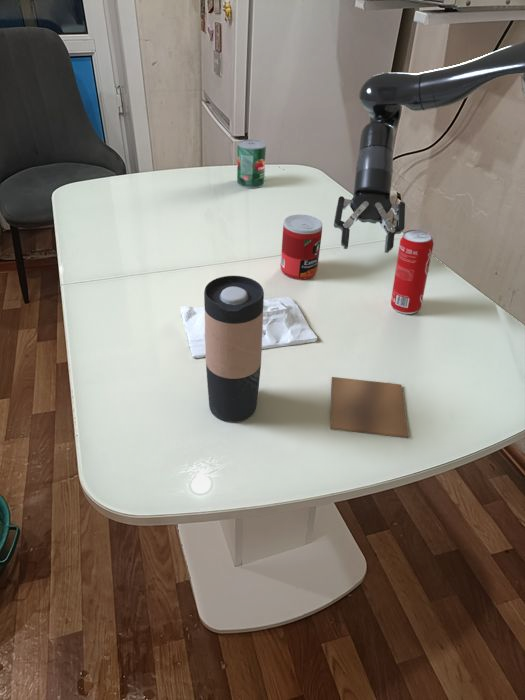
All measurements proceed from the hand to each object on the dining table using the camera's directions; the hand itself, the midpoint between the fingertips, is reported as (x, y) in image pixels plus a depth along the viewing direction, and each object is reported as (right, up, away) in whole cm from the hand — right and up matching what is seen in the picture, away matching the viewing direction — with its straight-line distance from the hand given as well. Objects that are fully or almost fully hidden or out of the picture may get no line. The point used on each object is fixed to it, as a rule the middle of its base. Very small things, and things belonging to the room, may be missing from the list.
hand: (366, 249), depth 105 cm
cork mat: (-6, -29, -29) cm, 41 cm away
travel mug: (-26, -29, -29) cm, 49 cm away
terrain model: (-24, -17, -14) cm, 33 cm away
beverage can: (+6, -12, -6) cm, 15 cm away
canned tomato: (-25, +27, +42) cm, 56 cm away
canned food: (-14, -4, +3) cm, 15 cm away
